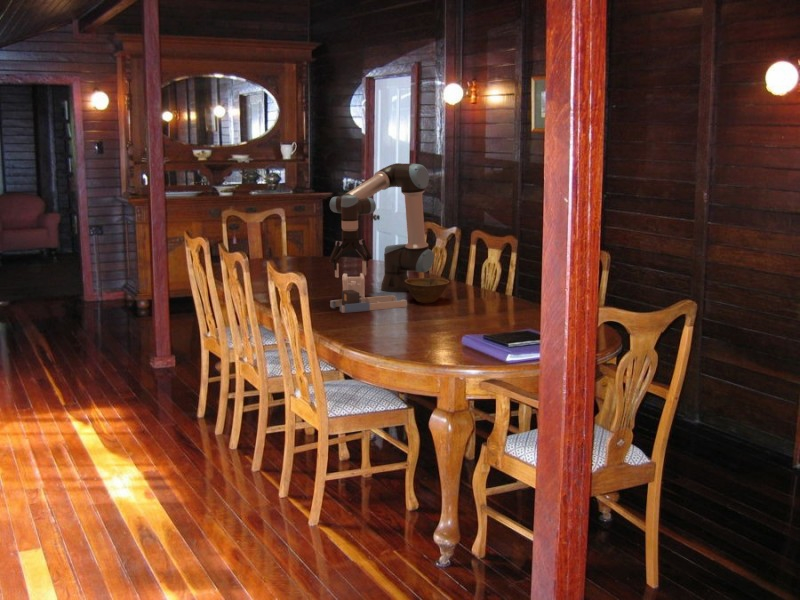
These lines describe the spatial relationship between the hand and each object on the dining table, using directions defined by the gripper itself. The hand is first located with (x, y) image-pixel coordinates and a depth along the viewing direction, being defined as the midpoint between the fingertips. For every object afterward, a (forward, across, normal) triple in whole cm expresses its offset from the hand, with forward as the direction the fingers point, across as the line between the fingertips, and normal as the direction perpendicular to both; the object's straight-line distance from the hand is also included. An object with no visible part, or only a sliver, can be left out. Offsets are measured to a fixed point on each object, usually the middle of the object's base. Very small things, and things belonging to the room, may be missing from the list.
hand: (350, 276), depth 422 cm
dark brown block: (+15, 0, 0) cm, 15 cm away
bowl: (+16, -40, -1) cm, 43 cm away
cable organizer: (+16, -11, -23) cm, 30 cm away
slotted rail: (+15, -9, 0) cm, 17 cm away
